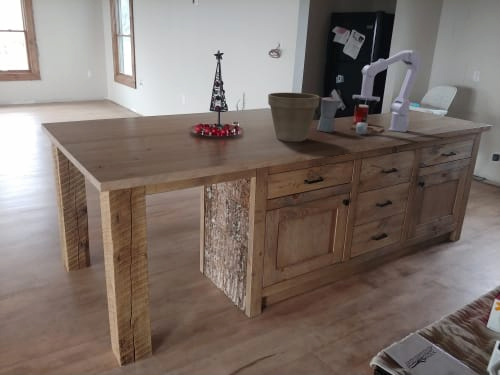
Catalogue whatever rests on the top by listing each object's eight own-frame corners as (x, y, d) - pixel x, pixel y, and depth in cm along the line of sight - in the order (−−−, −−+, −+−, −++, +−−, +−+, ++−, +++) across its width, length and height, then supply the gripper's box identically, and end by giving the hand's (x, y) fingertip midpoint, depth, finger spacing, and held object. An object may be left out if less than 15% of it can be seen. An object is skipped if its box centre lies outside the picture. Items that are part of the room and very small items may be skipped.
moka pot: (338, 133, 242) (342, 96, 235) (309, 131, 244) (313, 94, 238) (338, 130, 251) (342, 93, 244) (311, 128, 253) (314, 92, 247)
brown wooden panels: (383, 129, 257) (383, 127, 257) (379, 133, 248) (379, 130, 248) (355, 126, 264) (356, 124, 264) (350, 129, 255) (350, 127, 255)
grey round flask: (357, 131, 249) (358, 121, 247) (367, 133, 247) (368, 123, 245) (352, 134, 241) (354, 124, 240) (363, 135, 239) (364, 125, 237)
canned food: (363, 125, 268) (365, 106, 265) (350, 123, 273) (353, 105, 269) (368, 123, 274) (370, 105, 271) (356, 121, 279) (358, 104, 275)
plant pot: (258, 134, 231) (260, 91, 224) (301, 132, 240) (304, 91, 233) (278, 145, 209) (281, 98, 202) (324, 143, 218) (329, 98, 211)
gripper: (352, 87, 245) (349, 112, 249) (379, 89, 238) (375, 115, 243) (355, 86, 251) (352, 110, 255) (381, 88, 244) (378, 113, 249)
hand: (364, 113), depth 249 cm, fingers open, 7 cm apart
